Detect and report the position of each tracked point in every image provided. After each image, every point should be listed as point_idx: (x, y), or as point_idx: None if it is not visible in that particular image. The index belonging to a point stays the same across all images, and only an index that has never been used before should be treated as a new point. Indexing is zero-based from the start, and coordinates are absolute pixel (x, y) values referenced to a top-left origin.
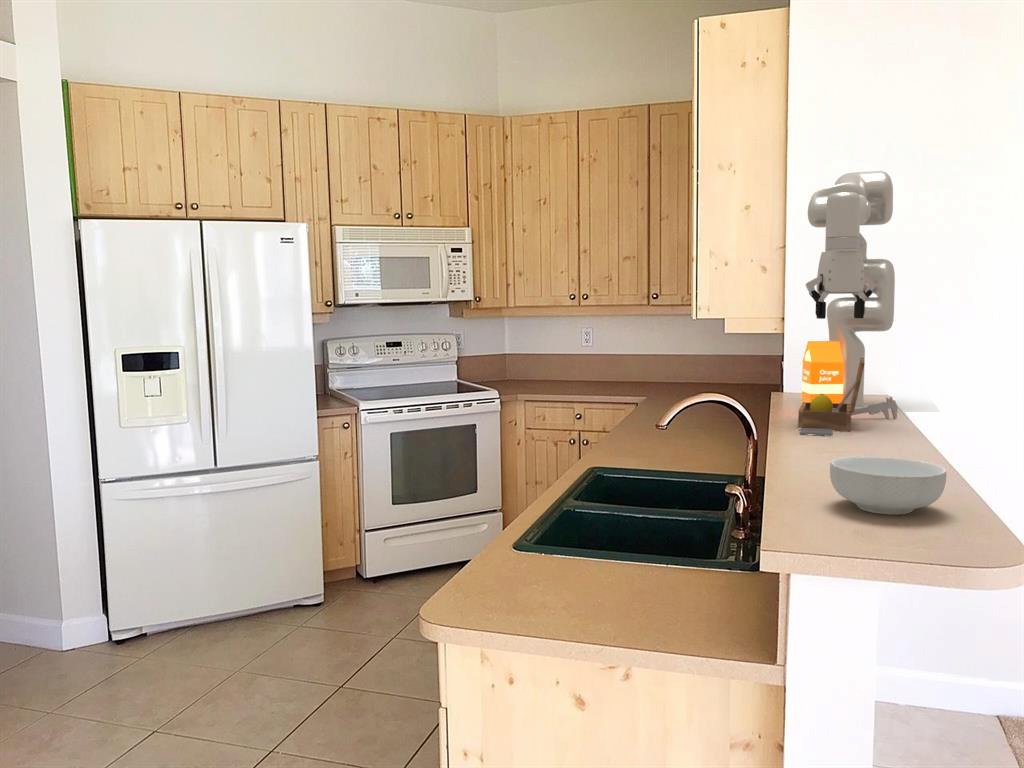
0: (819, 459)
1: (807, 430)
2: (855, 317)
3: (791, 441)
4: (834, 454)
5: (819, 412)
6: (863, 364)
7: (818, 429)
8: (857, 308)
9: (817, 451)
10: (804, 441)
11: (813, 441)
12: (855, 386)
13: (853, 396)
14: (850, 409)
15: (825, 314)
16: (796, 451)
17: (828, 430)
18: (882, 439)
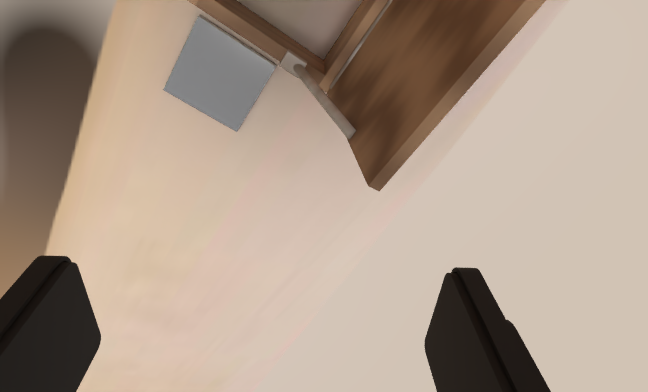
0: (111, 314)
1: (194, 70)
2: (442, 288)
3: (111, 167)
4: (152, 290)
5: (246, 37)
6: (375, 186)
7: (234, 61)
8: (462, 386)
9: (131, 265)
10: (142, 173)
11: (163, 178)
12: (381, 77)
13: (351, 93)
14: (346, 66)
15: (85, 369)
16: (90, 257)
17: (252, 86)
18: (328, 192)
